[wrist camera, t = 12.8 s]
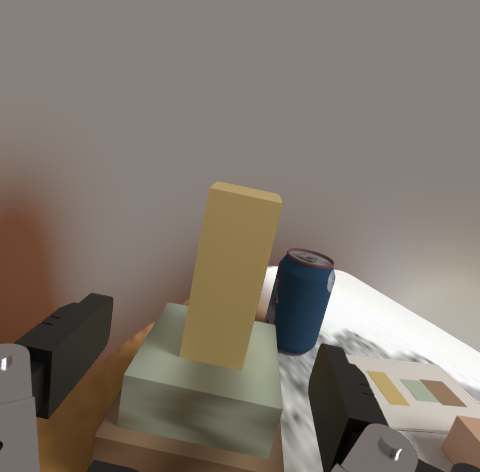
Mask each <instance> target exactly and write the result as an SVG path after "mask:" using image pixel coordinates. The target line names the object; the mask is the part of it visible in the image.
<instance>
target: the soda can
mask: <svg viewBox="0 0 480 472" xmlns="http://www.w3.org/2000/svg"><path fill="white" fill-rule="evenodd" d="M333 266H334V262H333V260H332V259H330V258H328V257H327V256H325V255H322V254H320V253H317V252H314V251H310V250H305V249H296V248H295V249H289V250H288V251H287V255H286V256H285V257H284V258H283V259H282V260H281V261H280V263H279V267H278V271H277V275H276V279H275V283H274V286H273V290H272V294H271V298H270V302H269V306H268V310H267V314H266V318H265V322H264V323H267V324H272V325H275V329H276V340H277V351H279V352H282V353H284V354H288V355H293V356H299V355H303V354H305V353H306V352H308V351H309V350H310V349H312V348H313V347H314V346H315V344H316V341H317V338H318V335H319V331H320V328H321V325H322V321H323V318H324V315H325V311H326V308H327V305H328V301H329V298H330V295H331V291H332V288H333V285H334V281H335V273H334V269H333Z"/></svg>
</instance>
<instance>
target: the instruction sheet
mask: <svg viewBox="0 0 480 472" xmlns="http://www.w3.org/2000/svg"><path fill="white" fill-rule="evenodd" d="M346 357H347V359H348V361H349V363H351V364H355V365H356V366H357V367H358V368H359V369H360V370H361V371H362V372H363V373H364V374H365V376H366V378H367V380H368V382H369V384H370V388H371V389H372V391H373V393H374V397H376V399H377V401H378V403H379V406H380V408H381V410H382V412H383V414H384V416H385V418H386V420H387V423H388V425H389V427H390V428H392V429H394V430H406V431H420V432H433V433H447V434H448V433H449V431H450V429H451V427H452V425H453V423H454V421H455V418H456V416H457V415H458V416H465V417H473V418H480V404H479V403H478V402H476V401H475V400H474V399H473V398H472V397H471V396H470V395H469V394H468V393H467V392H466V391H465V390H464V389H463V388H462V387H461V386H460V385H459V384H458V383H456V382H455V381H454V380H453V379H452V378H451V377H450V376H449V375H448V374H447V373H446V372H445V371H444V370H443V369H442V368H441V367H440V366H439V365H434V364H425V363H416V362H407V361H399V360H390V359H381V358H372V357H363V356H354V355H346Z"/></svg>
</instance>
